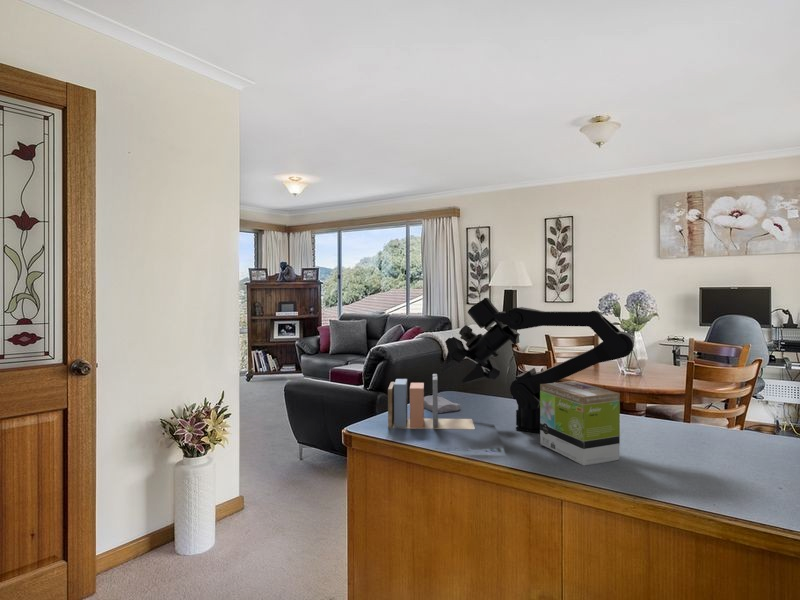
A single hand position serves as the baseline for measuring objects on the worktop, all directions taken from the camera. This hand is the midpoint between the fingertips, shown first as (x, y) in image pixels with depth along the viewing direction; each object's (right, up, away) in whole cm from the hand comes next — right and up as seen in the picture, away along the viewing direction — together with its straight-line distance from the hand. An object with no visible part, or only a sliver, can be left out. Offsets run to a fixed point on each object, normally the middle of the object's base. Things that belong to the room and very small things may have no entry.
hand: (451, 376), depth 141 cm
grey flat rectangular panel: (-5, -11, -9) cm, 15 cm away
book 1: (-14, -11, -8) cm, 20 cm away
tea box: (+25, -13, -29) cm, 41 cm away
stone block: (-2, -12, +10) cm, 16 cm away
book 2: (-10, -11, -8) cm, 17 cm away
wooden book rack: (-6, -12, -9) cm, 16 cm away
